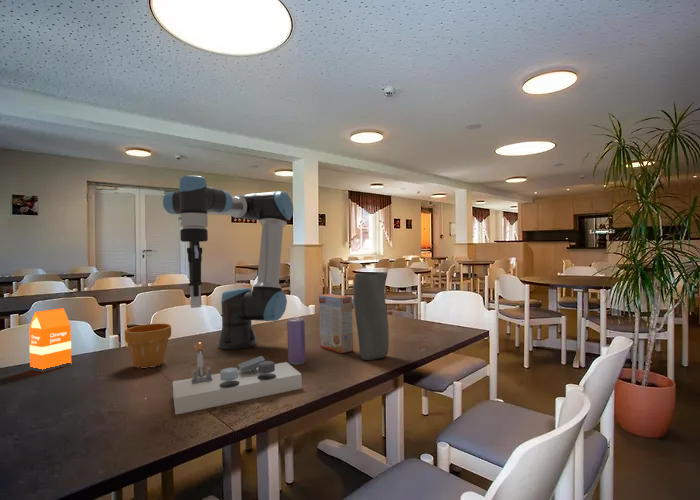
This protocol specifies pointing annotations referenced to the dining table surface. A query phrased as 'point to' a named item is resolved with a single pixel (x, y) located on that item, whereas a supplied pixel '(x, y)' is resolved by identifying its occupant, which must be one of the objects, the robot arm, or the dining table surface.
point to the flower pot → (148, 343)
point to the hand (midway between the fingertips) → (195, 307)
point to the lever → (200, 358)
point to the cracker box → (336, 322)
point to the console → (232, 387)
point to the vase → (371, 314)
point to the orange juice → (50, 339)
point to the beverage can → (296, 341)
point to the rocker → (250, 364)
